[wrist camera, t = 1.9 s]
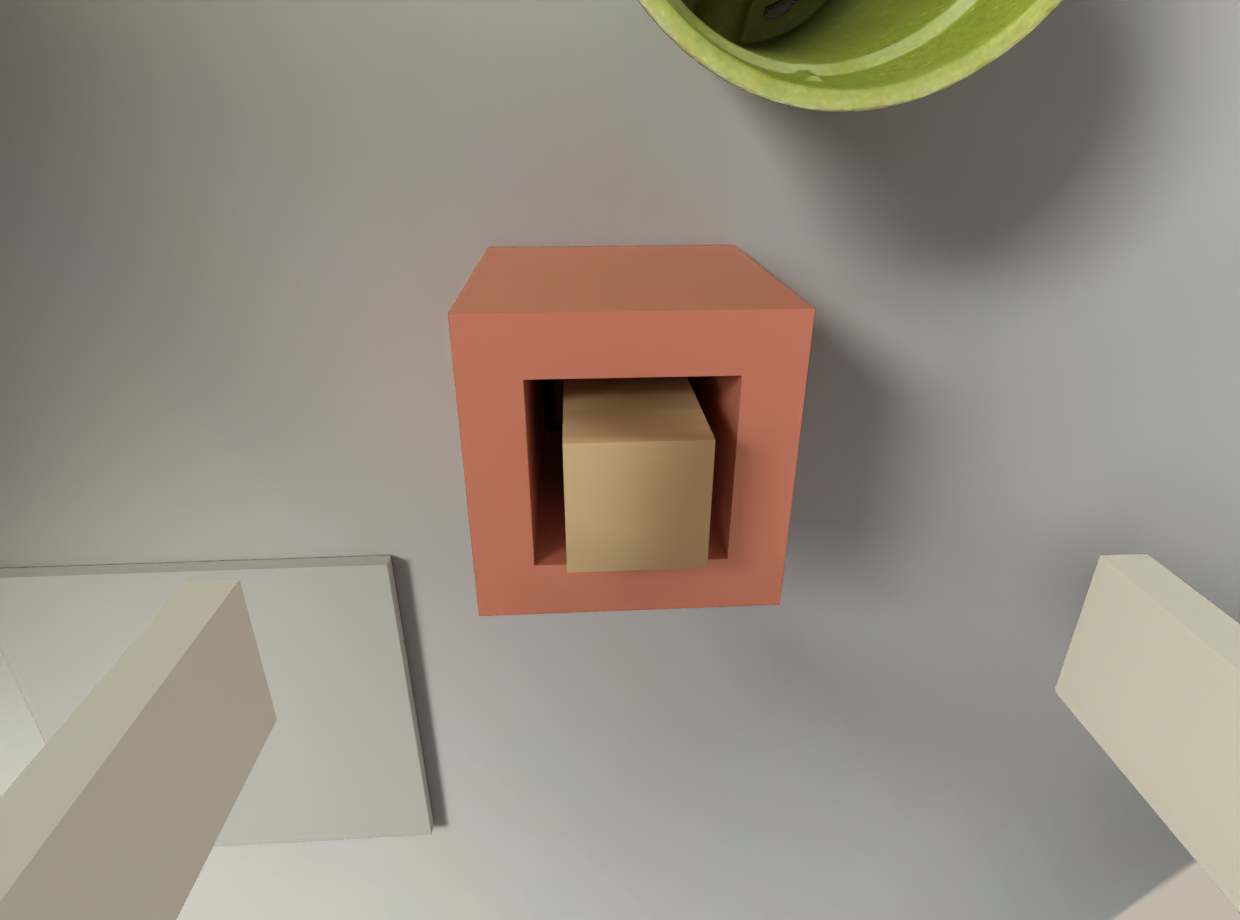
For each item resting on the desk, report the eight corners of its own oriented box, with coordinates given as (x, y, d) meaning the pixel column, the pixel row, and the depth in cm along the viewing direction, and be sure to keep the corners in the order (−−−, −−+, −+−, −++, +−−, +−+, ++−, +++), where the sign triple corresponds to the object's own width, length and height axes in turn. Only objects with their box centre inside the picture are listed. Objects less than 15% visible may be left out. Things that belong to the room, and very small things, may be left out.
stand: (555, 420, 24) (549, 588, 15) (551, 306, 22) (540, 425, 14) (669, 417, 24) (724, 582, 16) (673, 304, 23) (737, 420, 14)
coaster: (104, 840, 31) (96, 853, 30) (-20, 568, 25) (-33, 578, 24) (433, 822, 32) (431, 834, 31) (390, 555, 26) (386, 565, 25)
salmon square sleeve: (505, 469, 25) (478, 615, 17) (488, 247, 21) (447, 314, 14) (719, 464, 25) (779, 604, 18) (733, 244, 22) (815, 309, 15)
